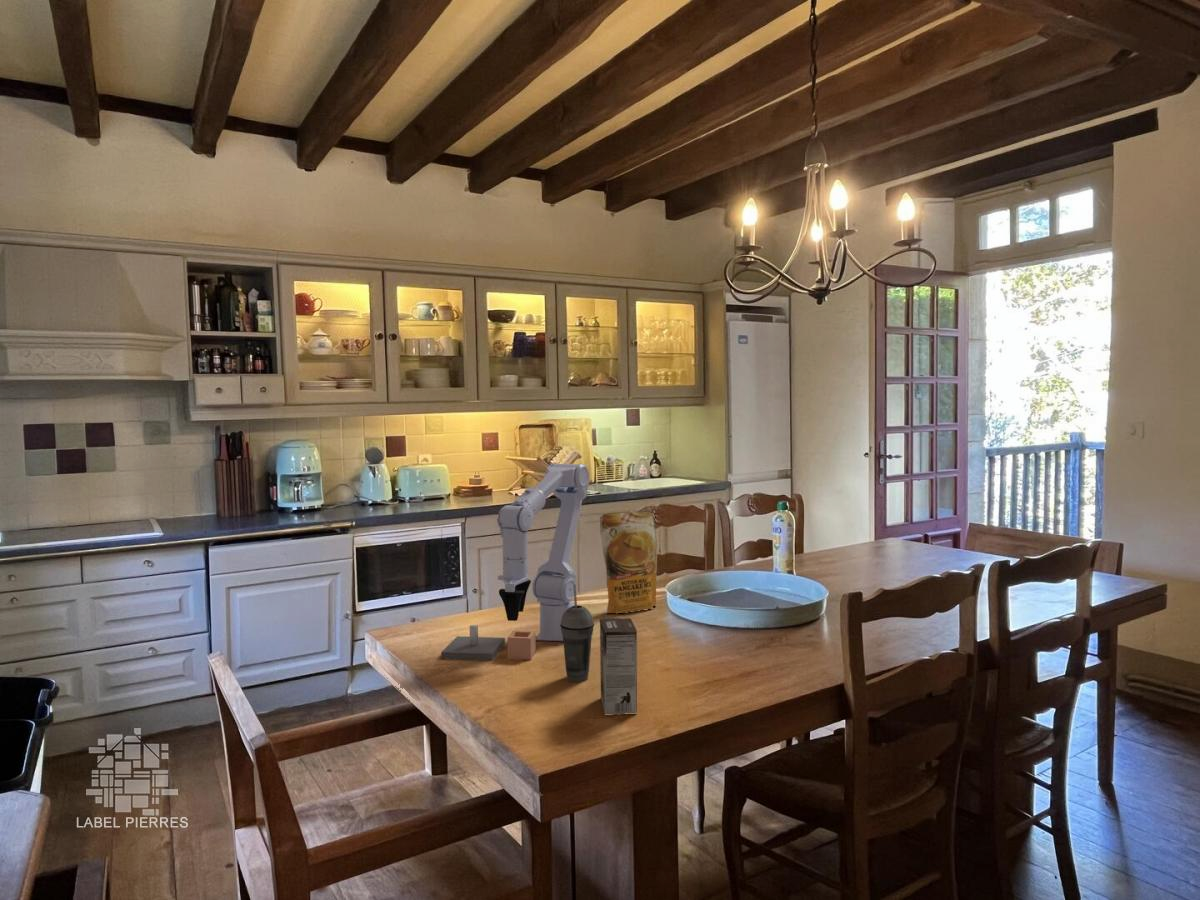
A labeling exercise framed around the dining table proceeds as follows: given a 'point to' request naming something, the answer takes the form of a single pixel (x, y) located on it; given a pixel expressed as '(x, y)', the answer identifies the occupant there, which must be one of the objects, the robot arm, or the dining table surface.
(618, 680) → the coffee box
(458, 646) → the post board
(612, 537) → the pancake mix bag
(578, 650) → the beverage cup
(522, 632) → the collar
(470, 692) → the dining table surface
